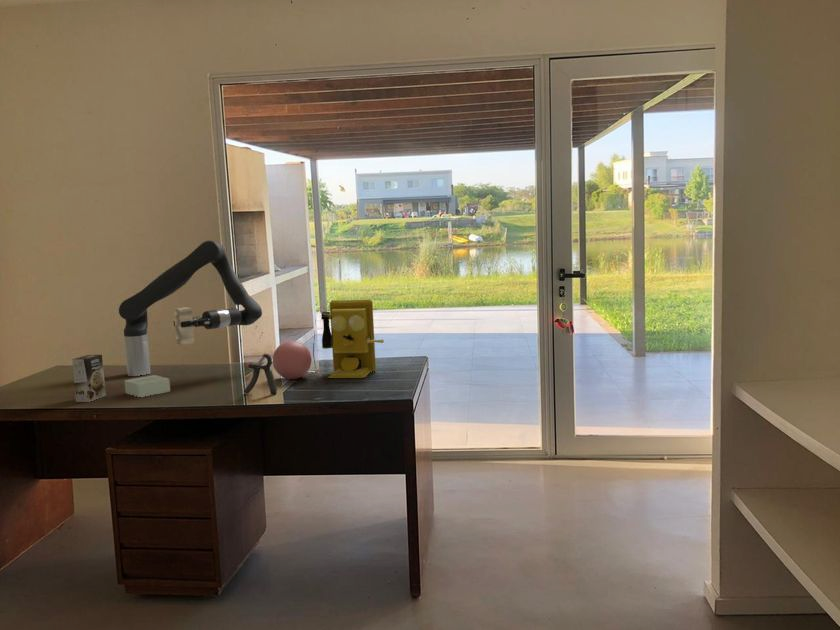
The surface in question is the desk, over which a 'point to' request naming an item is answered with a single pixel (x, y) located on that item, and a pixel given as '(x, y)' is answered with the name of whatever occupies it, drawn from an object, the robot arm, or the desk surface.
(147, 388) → the base block
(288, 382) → the desk surface
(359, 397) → the desk surface
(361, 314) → the vintage telephone
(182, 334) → the ash pillar
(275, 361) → the balloon
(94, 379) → the coffee box
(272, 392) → the hand grip strengthener
